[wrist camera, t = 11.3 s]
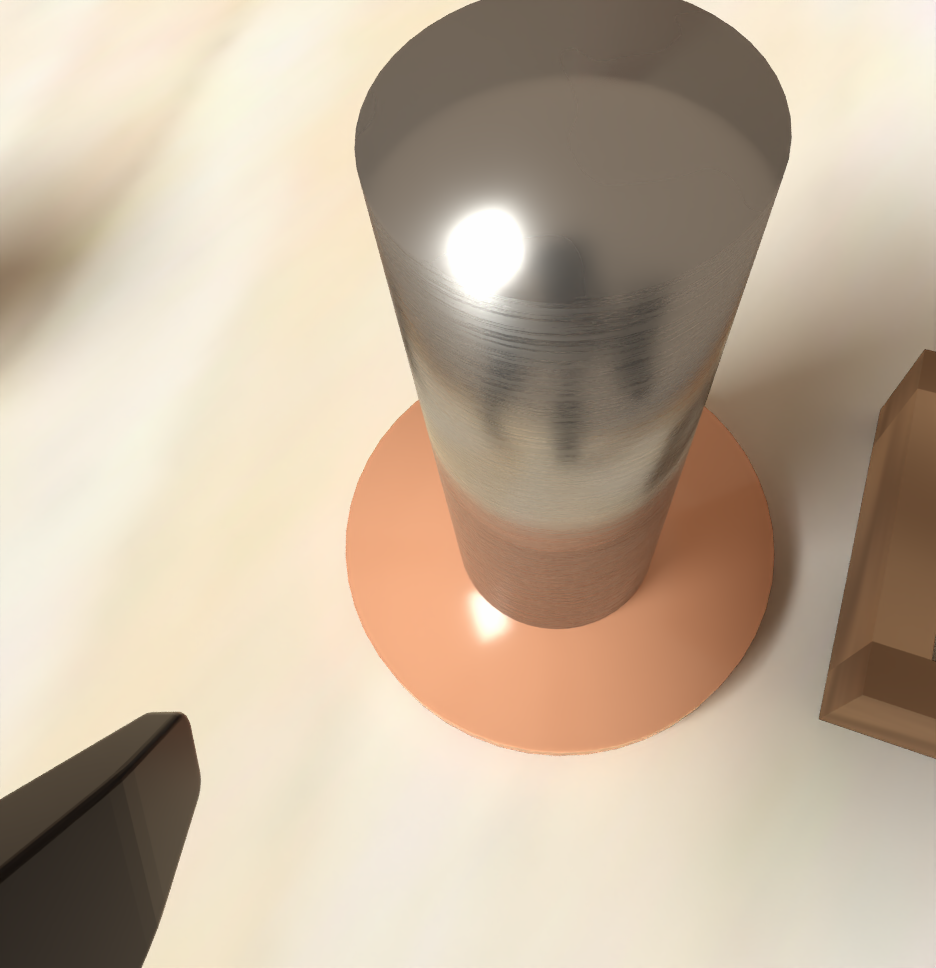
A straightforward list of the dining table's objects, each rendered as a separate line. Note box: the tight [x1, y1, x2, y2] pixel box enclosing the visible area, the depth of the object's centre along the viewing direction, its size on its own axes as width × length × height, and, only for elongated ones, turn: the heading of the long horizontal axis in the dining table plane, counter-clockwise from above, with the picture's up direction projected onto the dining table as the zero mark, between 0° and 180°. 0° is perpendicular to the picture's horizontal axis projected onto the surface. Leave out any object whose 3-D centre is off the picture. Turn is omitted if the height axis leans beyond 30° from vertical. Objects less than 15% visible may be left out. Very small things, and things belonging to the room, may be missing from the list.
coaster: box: [346, 400, 774, 756], centre depth 22 cm, size 11×11×1 cm
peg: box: [355, 0, 792, 629], centre depth 15 cm, size 5×5×13 cm
